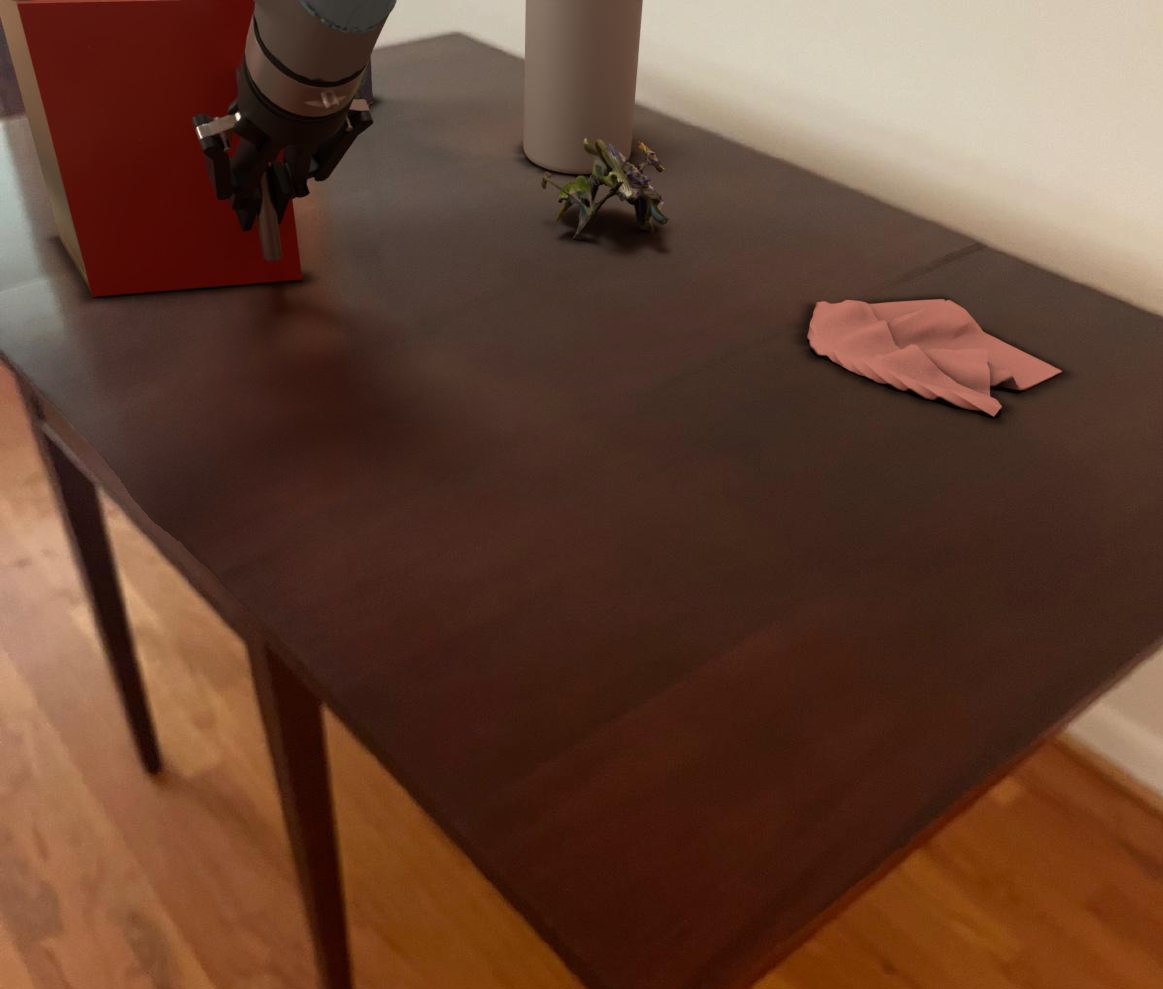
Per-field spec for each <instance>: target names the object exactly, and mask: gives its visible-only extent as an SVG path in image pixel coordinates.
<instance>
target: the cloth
mask: <svg viewBox="0 0 1163 989" xmlns="http://www.w3.org/2000/svg"><path fill="white" fill-rule="evenodd" d="M806 339H807V340H809V347H810V348H811V350H812V351H813V352H814V353H815V354H816V356H823V357H825V356H826V357H827V358H829V360H831V361H832V362H833V363H835V364H837V365H838V366H841V367H842V368H844V369H846V370H847V371H849V372H851V373H853V374H855V375H859V376H862V377H864V378H865V377H866V378H868V379H869V380H871V381H873V382H874V383H877V384H882V385H887V386H892V388H894V389H896V390H899V391H902V392H906V393H911V394H918V395H919V396H921V397H923V398H924V399H927V400H930V401H934V402H943V403H947V404H951V405H954V406H957V407H959V408H962V409H963V410H970V411H979V412H984V413H986V414H988V415H990V416H992V417H995V416H996V415H997V414H998V412H999V411H1000V410H1001V409H1002V407H1003V406H1002V405H1001V403H1000V402H999V400H998V399H996V398H995V397H992V396H991V387H998V388H1005V389H1011V390H1017V391H1025V390H1027V389H1030V388H1032V387H1034V386H1036V385H1038V384H1041V383H1043V382H1045V381H1047V380H1049V379H1052V378H1054V377H1055V376H1057V375H1060V374H1061V373H1062V372H1063V370H1061V369H1059V368H1057V367H1055V366H1054V365H1051V364H1049V363H1047V362H1045V361H1043V360H1041V359H1040V358H1037V357H1035V356H1033V355H1031V354H1029V353H1027V352H1025V351H1023V350H1021V349H1019V348H1017V347H1015V346H1013V345H1011V344H1009V343H1006V342H1004V341H1002V340H1001V339H999V338H997V337H995V336H993V335H991V334H989V333H987V332H984V331H983V329H982V328H981V327H980V325H979V323H978V322H976V320H975V318H974V317H973V316H972V315H971V314H970V313H969V312H968V311H967V310H966V309H965V308H964V307H962V306H960V305H959V304H957V303H955V302H954V301H952V300H951V299H947V300H945V299H944V298H939V299H937V298H936V299H919V300H903V301H901V300H900V301H887V302H878V303H877V302H876V303H868V302H867V301H861V300H852V299H845V300H843V301H841V302H836V303H830V302H828V301H826V300H822V301H818V302H817V301H816V302H815V307H814V309H813V311H812V317H811V319H810V322H809V328H808V333H807V334H806Z"/></svg>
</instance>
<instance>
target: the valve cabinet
mask: <svg viewBox="0 0 1163 989" xmlns="http://www.w3.org/2000/svg"><path fill="white" fill-rule="evenodd" d="M0 21H1V24H2V28H3V32H4V35H5V39H6V43H7V47H8V50H9V54H10V57H11V62H12V65H13V69H14V73H15V76H16V80H17V81H16V82H17V84H18V88H19V91H20V95H21V99H22V102H23V107H24V111H25V113H26V118H27V122H28V125H29V129H30V132H31V136H32V141H33V143H34V147H35V151H36V155H37V158H38V162H39V167H40V169H41V174H42V177H43V181H44V184H45V188H46V191H47V192H46V193H47V196H48V199H49V200H48V201H49V204H50V208H51V211H52V214H53V219H54V222H55V225H56V229H57V234H58V237H59V240H60V241H61V243H62V245H63V247H64V249H65V250H66V252H67V254H68V256H69V257H70V259H71V261H72V262H73V264H74V266H75V267H76V269H77V272H78V273H79V275H80V276H81V278H82V279H83V281H84V284H85V285H86V287H87V288H88V290H89V291H90V293H91V290H90V286H89V282H88V278H87V274H86V270H85V267H84V263H83V259H82V255H81V251H80V247H79V243H78V239H77V235H76V232H75V228H74V224H73V220H72V216H71V212H70V208H69V204H68V200H67V197H66V193H65V189H64V185H63V181H62V177H61V173H60V169H59V166H58V162H57V158H56V154H55V150H54V146H53V142H52V138H51V134H50V131H49V127H48V123H47V119H46V115H45V111H44V107H43V103H42V99H41V96H40V92H39V88H38V84H37V80H36V76H35V72H34V68H33V65H32V61H31V57H30V53H29V49H28V45H27V41H26V37H25V33H24V30H23V26H22V22H21V18H20V14H19V10H18V6H17V1H13V0H0Z"/></svg>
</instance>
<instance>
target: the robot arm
mask: <svg viewBox="0 0 1163 989" xmlns="http://www.w3.org/2000/svg"><path fill="white" fill-rule="evenodd" d="M13 1H32V0H13ZM253 1H255V6H254V11H253V16H252V19H251V23H250V27H249V31H248V35H247V40H246V48H245V51H244V55H243V60H242V64H241V69H240V73H239V79H238V97H237V98H236V99H235V100H234V101H233V102H232V103H231V104H230V105H229V107H228V115H227V116H224V117H222V118H219V117H215V118H213V119H212V118H211V117H210V116H208V115H207V114H198V115H195V116H194V117H193V118H192V122H193V125H194V128H195V131H196V133H197V136H198V139H199V142H200V144H201V147H202V150H203V152H204V154H205V160H206V168H207V171H208V174H209V177H210V180H211V182H212V185H213V188H214V191H215V193H216V196H217V198H218V199H219V200H225V199H229V202H230V204H231V207H232V209H233V210H235V212H236V215H237V217H238V220H239V223H240V226H241V228H242V231H243V232H245V231H250V230H252V227H253V223H254V220H255V217H256V214H257V211H258V208H259V205H260V201H261V195H260V192H259V189H258V187H257V186H258V184H259V182H260V180H261V178H262V176H263V174H264V172H265V170H266V168H267V166H268V164H269V162H272V164H271V167H270V168H271V175H272V182H273V190H274V198H275V205H276V213H277V220H278V225H280V224H281V222H282V219H283V216H284V214H285V211H286V208H287V206H288V203H289V200H290V199H293V200H294V199H296V198H297V199H300V198H305V197H307V196H309V195H310V193H311V192H310V189H309V186H308V180H311V179H314V181H315V182H324V181H326V180H327V179H328V178H330V176H331V175H332V173H333V172H334V171H335V169H336V168H337V166H338V165H339V164H340V162H341V161H342V159H343V158H344V156H345V155H346V154H347V152H348V150H349V149H350V147H352V145H353V143H354V142H355V141H356V140H357V138H358V137H359V135H361V134H362V133H363V132H365V131H366V130H368V128H370V127H371V126H372V125H374V119H373V116H372V113H371V111H370V108H369V106H368V105H367V102H366V99H365V97H364V94H363V91H362V90H360V89H358V86H359V84H360V82H361V79H362V77H363V74H364V72H365V70H366V67H367V65H368V62H369V58H370V56H372V53H373V52H374V48H375V46H376V44H377V42H378V40H379V37H380V35H381V32H382V31H383V28H384V27H385V24H386V22H387V20H388V18H389V16H390V14H391V13H392V12H393V10H394V8H395V6H396V4H397V1H398V0H253ZM235 133H236V134H237V135H239V136H241V140H240V142H239V144H238V147H237V149H236V151H235V154H234V156H233V158H229V155H228V153H227V152H230V151H231V147H230V144H229V142H231V140H232V135H233V134H235ZM281 149H283V156H282V160H283V163H284V167H283V165H282V162H281V161H276V159H277V157H278V155H279V153H280V151H281ZM275 161H276V162H275Z"/></svg>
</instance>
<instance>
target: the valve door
mask: <svg viewBox="0 0 1163 989" xmlns="http://www.w3.org/2000/svg"><path fill="white" fill-rule="evenodd" d="M17 6H18V10H19V14H20V18H21V22H22V26H23V30H24V33H25V37H26V41H27V45H28V49H29V53H30V57H31V61H32V65H33V68H34V72H35V76H36V80H37V84H38V88H39V92H40V96H41V99H42V103H43V107H44V111H45V115H46V119H47V123H48V127H49V131H50V134H51V138H52V142H53V146H54V150H55V154H56V158H57V162H58V166H59V169H60V173H61V177H62V181H63V185H64V189H65V193H66V197H67V200H68V204H69V208H70V212H71V216H72V220H73V224H74V228H75V232H76V235H77V239H78V243H79V247H80V251H81V255H82V259H83V263H84V267H85V270H86V274H87V278H88V282H89V286H90V290H91V292H90V293H91V297H105V296H107V297H108V296H119V295H130V294H131V295H132V294H143V293H153V292H165V291H166V292H168V291H179V290H190V289H203V288H216V287H227V286H237V285H238V286H241V285H252V284H253V285H254V284H263V283H264V284H265V283H276V282H287V281H289V282H290V281H300V280H303V273H302V266H301V258H300V250H299V242H298V234H297V226H296V218H295V208H294V199H290V200H289V203H288V206H287V208H286V211H285V214H284V216H283V219H282V222H281V224H280V225H278V220H277V213H276V205H275V198H274V190H273V182H272V175H271V168H270V167H271V164H272V162H269V164H268V166H267V168H266V170H265V172H264V174H263V176H262V178H261V180H260V182H259V184H258V186H257V187H258V189H259V192H260V195H261V201H260V205H259V208H258V211H257V214H256V217H255V220H254V223H253V227H252V230H250V231H245V232H243V231H242V228H241V226H240V223H239V220H238V217H237V215H236V212H235V210H233V209H232V207H231V204H230V202H229V199H225V200H219V199H218V198H217V196H216V193H215V191H214V188H213V185H212V182H211V180H210V177H209V174H208V171H207V168H206V160H205V154H204V152H203V150H202V147H201V144H200V142H199V139H198V136H197V133H196V131H195V128H194V125H193V122H192V118H193V117H194V116H195V115H198V114H207V115H208V116H210V117H211V118H212V119H213V118H215V117H219V118H222V117H224V116H227V115H228V107H229V105H230V104H231V103H232V102H233V101H234V100H235V99H236V98H237V97H238V79H239V73H240V69H241V64H242V60H243V55H244V51H245V48H246V40H247V35H248V31H249V27H250V23H251V19H252V16H253V11H254V6H255V1H253V0H32V1H17ZM240 140H241V136H239V135H237V134H236V133H235V134H233V135H232V140H231V142H229V144H230V147H231V151H230V152H227V153H228V155H229V158H233V156H234V154H235V151H236V149H237V147H238V144H239V142H240ZM282 156H283V149H281V151H280V153H279V155H278V157H277V159H276V161H281V162H282V165H283V167H284V163H283V160H282ZM276 161H275V162H276ZM90 290H89V291H90Z"/></svg>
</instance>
